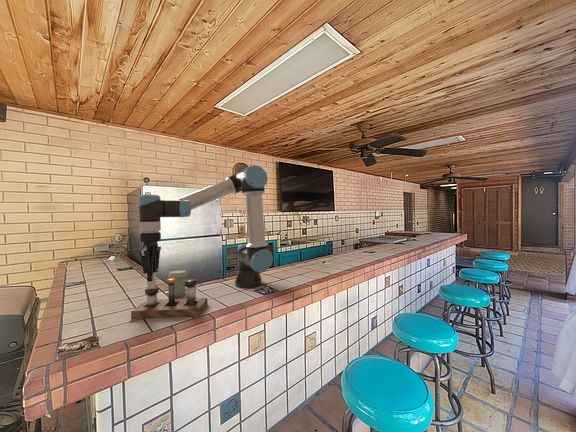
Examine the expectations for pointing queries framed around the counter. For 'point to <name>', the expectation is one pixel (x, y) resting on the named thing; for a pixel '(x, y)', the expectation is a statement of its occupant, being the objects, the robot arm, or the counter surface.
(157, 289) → the knob
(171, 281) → the dark piece
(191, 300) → the knob
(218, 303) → the counter surface
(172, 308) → the mount board
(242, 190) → the robot arm
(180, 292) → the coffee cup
